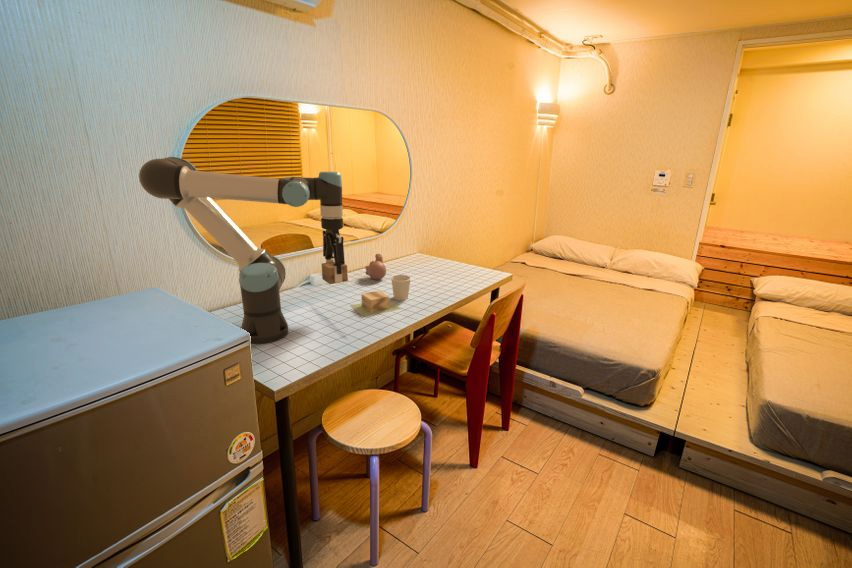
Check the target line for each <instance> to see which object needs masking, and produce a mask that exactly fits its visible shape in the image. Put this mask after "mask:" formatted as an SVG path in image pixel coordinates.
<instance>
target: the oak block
mask: <svg viewBox="0 0 852 568" xmlns="http://www.w3.org/2000/svg"><path fill="white" fill-rule="evenodd" d="M389 301H390V295H388V294H387V293H385V292H383V291H381V290H375V291H369V292H365V293H361V303H362V306H363V307H364V308H366V309H367V310H368V311H370V312H375V311H380V310H384V309H389Z"/></svg>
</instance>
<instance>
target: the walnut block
mask: <svg viewBox="0 0 852 568" xmlns="http://www.w3.org/2000/svg"><path fill="white" fill-rule="evenodd" d="M333 264H335V261H334V262H329V263H326V262H324V263H321V276H322V277H321V279H322V280H323V281H325V282H326V283H327V284H329V285H333V284H336V283H335V279H334V266H333ZM348 281H349V277H348V265H347V264H343V265H342V282H338V283H337V284H340V283H344V282H348Z"/></svg>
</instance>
